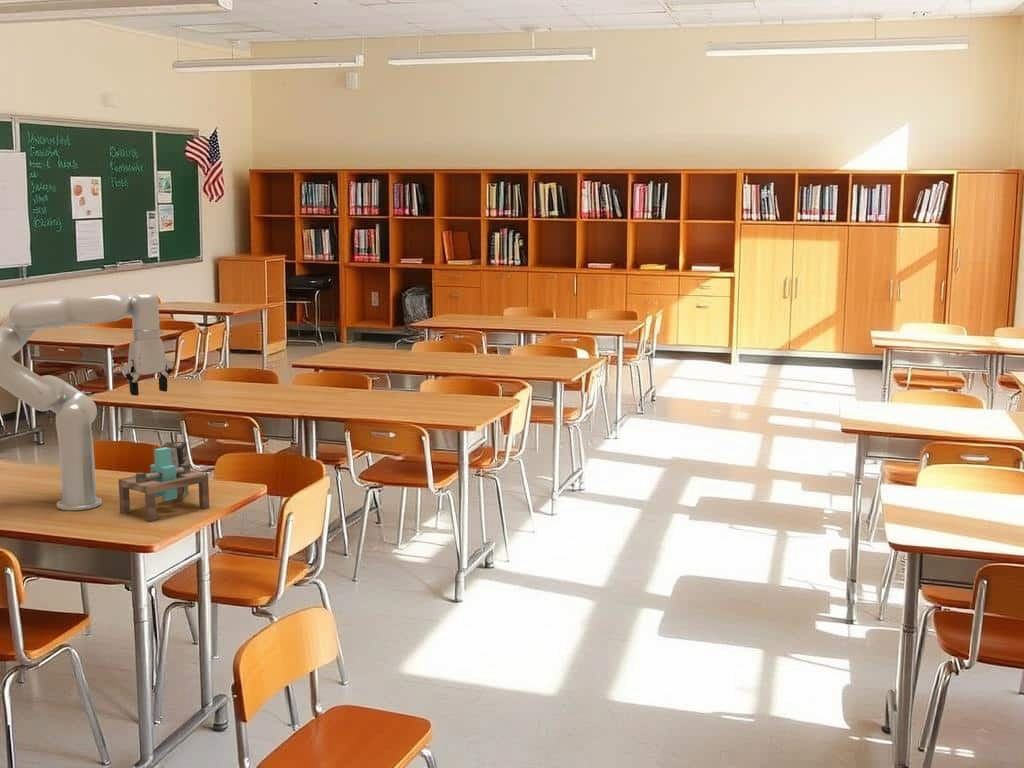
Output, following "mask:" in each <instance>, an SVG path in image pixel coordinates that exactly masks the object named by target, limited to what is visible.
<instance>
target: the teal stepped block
mask: <svg viewBox="0 0 1024 768" xmlns="http://www.w3.org/2000/svg"><path fill="white" fill-rule="evenodd" d="M153 456H154V463H153V464H150V473H155V472H159V473H162V478H157V479H152V480H153V481H157V482H165V481H169V480H174V479H177V478H176V466H174V465H171V448H168V447H164V448H161V447H158V448H154V449H153ZM162 496H163V499H162V500H163V502H164V501H165V502H167V501H171V500H173V499H176V498H177V488H175V489H171V490H166V491H162V492H157V493H155V498H159V497H162Z"/></svg>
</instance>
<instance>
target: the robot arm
mask: <svg viewBox="0 0 1024 768" xmlns="http://www.w3.org/2000/svg"><path fill="white" fill-rule="evenodd" d="M159 306H160V305H159V298H158V295H157V294H156V293H151V292H144V293H142V292H139V293H128V292H113V293H111V294H109V295H102V296H101V295H100V296H93V297H91V296H89V297H73V296H59V297H49V298H38V299H33V298H28V299H24V300H20V301H17V302H15V303H13V305H11V307H10V309H9V311H8V317H7V319H6V320H5V321H4V322H3V323H2V324H1V325H0V387H1V388H3V389H4V390H5V391H7V392H8V393H10V394H11V395H13V396H14V397H15V398H17V399H19V400H20V401H23V402H24V403H25V404H27V405H28V406H30V407H31V408H32V409H34V410H36V411H39V412H47V411H49V410H50V411H51V412H53V413H55V414H56V415H55V429H56V433H57V439H58V440H57V441H58V453H59V468H60V485H61V486H60V487H61V488H60V489H61V490H59V491H58V495H59V496H61V500H59V501H57V502H56V508H57V509H59V510H62V511H83V510H89V509H95V508H97V507H100V506H101V505H102V504H103V499H102V498H100V497H97V487H96V486H97V485H96V483H97V481H96V466H95V465H96V464H95V452H94V451H95V450H94V438H93V431H92V424H93V422H94V421H95V419H96V417H97V415H98V409H97V408H98V407H97V405H96V403H95V401H93V399H91V397H90V396H88V395H86V394H84V392H82V391H80V390H79V389H77V388H76V387H74V386H72V385H71V384H69V383H68V382H67V381H65V380H63V379H61V378H59V377H57V376H55V375H50V374H46V375H40V374H37V373H35V372H34V371H32V370H31V369H30V368H28V367H27V366H25V365H23V364H22V363H20V362H17V361H16V360H14V359H13V358H12V357H13V356H14V355H16V354H17V353H19V352H20V350H21V349H22V348H23V347H24V345H26V343H27V342H28V341H29V340H30V339H31V338H32V337H33V336H34V334H35V333H36V332H37V331H38V330H40V329H41V330H42V329H48V328H49V329H50V328H59V327H60V328H61V327H70V326H71V327H73V326H78V325H91V324H100V323H109V322H110V323H111V322H117V321H121V320H123V319H124V318H128V317H131V320H132V338H133V339H132V340H130V342H129V348H128V361H127V363H126V364H125V365H123V366H122V367H120V371H121V373H122V375H123V377H124V378H125V379H126V380H127V382H129V383H128V384H129V392H130V395H131V396H136V397H137V396H139V382H138V379H139V378H140V376H144V375H145V376H146V375H151V374H152V375H154V374H157V375H159V377H158V390H159V391H160V392H165V393H166V392H168V386H169V385H168V378H169V377H170V375H171V373H172V371H173V368H174V366H175V362H174V361H172V360H169V359H168V358H166V353H165V347H164V343H163V340H162V339H161V336H163V334H164V331H163V330H162V329H161V330H160V308H159Z"/></svg>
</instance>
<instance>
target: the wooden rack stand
mask: <svg viewBox="0 0 1024 768" xmlns="http://www.w3.org/2000/svg"><path fill="white" fill-rule="evenodd" d="M157 478H162V473H159V472H155V473H151V472H143V471H142V472H137V473H135V475H133V476H128V477H121V478H118V497H119V513H120V514H122V515H127V514H131V503H130V500H131V499H130V498H131V497H130V490H131V491H135V492H139V493H142V494H144V502H145V505H144V507H145V520H146V521H147V522H150V523H151V522H155V521H157V504H156V502H157V500H156V497H155V493H157V492H162V491H166V490H171V489H175V488H177V498H176V499H172V500H174V501H173V502H176V501H179V502H182V500H183V501H184V498H183V490H182V487H184V486H188V487H189V486H193V485H198V499H199V500H198V502H199V505H198V506H199V509H203V510H205V509H210V493H209V492H210V487H209V474H207V473H203V472H199V471H195V470H191V464H189V463H187V464H181V465H180V468H179V467H176V478H177V479H174V480H169V481H165V482H157V481H153V480H152V479H157Z"/></svg>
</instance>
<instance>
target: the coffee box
mask: <svg viewBox="0 0 1024 768" xmlns="http://www.w3.org/2000/svg"><path fill="white" fill-rule="evenodd" d="M187 445H188V442H187V441H174V442H173V441H172V442H167V441H166V442H165V443H164V444H163V445H162V446H161V447H160V448H164V447H168V448H171V465H174V466H176V467H179V468H180V465H181V464H188V446H187ZM182 490H183V499H184V498H185V496H187V494H188V493H189V490H190V489H189V486H184V487H182ZM161 499H162V500H163V496H161Z"/></svg>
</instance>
